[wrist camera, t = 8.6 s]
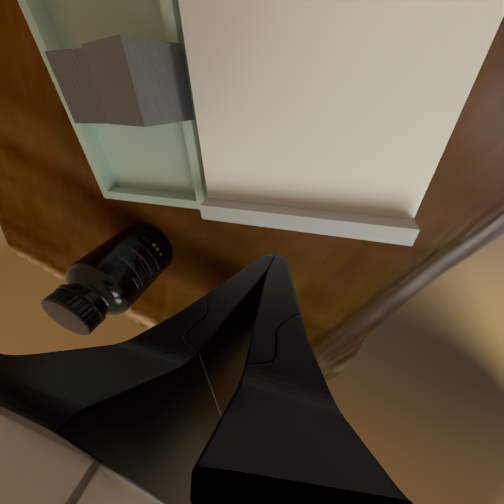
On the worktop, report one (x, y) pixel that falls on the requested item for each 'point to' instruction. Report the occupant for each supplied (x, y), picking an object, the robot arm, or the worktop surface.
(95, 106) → the gray cube
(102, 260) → the supplement bottle
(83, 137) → the tray
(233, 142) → the channel
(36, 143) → the worktop surface
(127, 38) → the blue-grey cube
